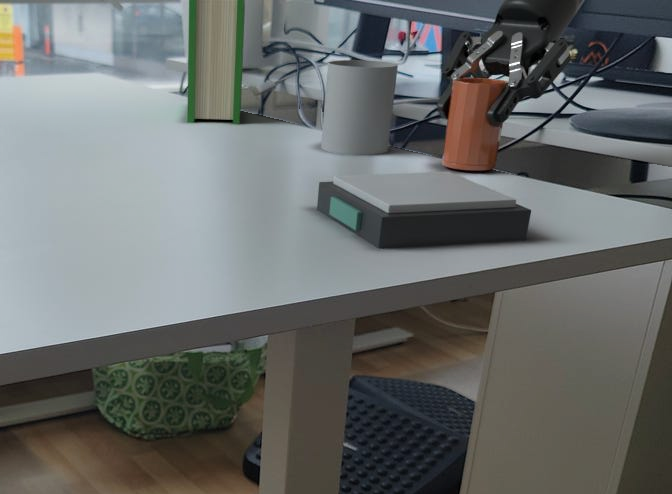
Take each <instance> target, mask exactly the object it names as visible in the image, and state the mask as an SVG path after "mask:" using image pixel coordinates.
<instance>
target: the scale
mask: <svg viewBox="0 0 672 494" xmlns="http://www.w3.org/2000/svg"><path fill="white" fill-rule="evenodd" d="M316 211H317V212H319V213H321V214H323V215H324V216H326V217H327V218H329V219H331V220H332V221H334V222H335V223H337V224H338V225H340V226H341V227H343V228H345V229H346V230H348V231H349V232H351V233H353V234H354V235H356V236H358V237H359V238H361V239H362V240H364V241H366V242H367V243H369V244H371V245H372V246H374V247H375V248H377V249H395V248H414V247H431V246H448V245H450V246H451V245H465V244H467V245H468V244H482V243H499V242H500V243H501V242H518V241H526V240H527V235H528V230H529V226H530V220H531V214H532V209H530V208H528V207H525V206H523V205H521V204H519V203H517V199H516V198H514V197H512V196H509V195H507V194H504V193H502V192H499V191H496V190H494V189H492V188H490V187H487V186H485V185H482V184H479V183H478V182H475V181H473V180H470V179H467V178H465V177H463V176H460V175H457V174H455V173H453V172H451V171H435V172H434V171H433V172H432V171H430V172H409V173H408V172H407V173H406V172H403V173H380V174H379V173H378V174H377V173H376V174H353V175H352V174H350V175H334V176H333V180H332V181H319V183H318V191H317V204H316Z"/></svg>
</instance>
